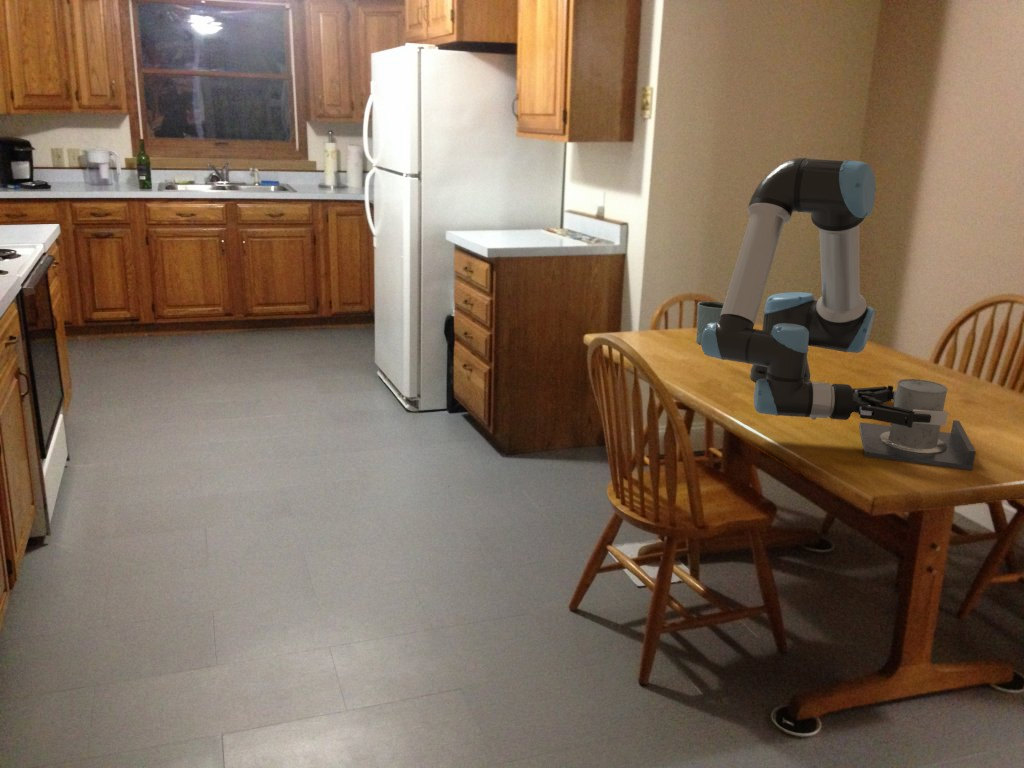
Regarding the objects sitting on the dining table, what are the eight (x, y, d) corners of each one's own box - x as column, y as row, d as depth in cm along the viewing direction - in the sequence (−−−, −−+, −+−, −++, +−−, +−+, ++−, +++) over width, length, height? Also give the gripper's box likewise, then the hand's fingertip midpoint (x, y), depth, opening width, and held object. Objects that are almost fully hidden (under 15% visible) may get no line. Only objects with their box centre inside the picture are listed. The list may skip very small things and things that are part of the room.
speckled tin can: (943, 441, 188) (953, 386, 185) (928, 452, 181) (939, 395, 178) (897, 430, 194) (906, 376, 191) (881, 440, 187) (890, 385, 184)
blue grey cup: (688, 339, 276) (691, 301, 272) (717, 338, 279) (721, 300, 275) (704, 347, 266) (708, 308, 263) (734, 346, 269) (738, 307, 266)
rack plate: (859, 426, 200) (861, 409, 199) (956, 438, 195) (959, 420, 193) (864, 456, 182) (867, 438, 181) (972, 470, 176) (975, 451, 175)
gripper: (816, 400, 201) (914, 407, 198) (840, 437, 177) (952, 445, 174) (820, 368, 199) (919, 374, 196) (846, 401, 175) (959, 409, 172)
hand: (935, 408), depth 185 cm, fingers open, 13 cm apart
